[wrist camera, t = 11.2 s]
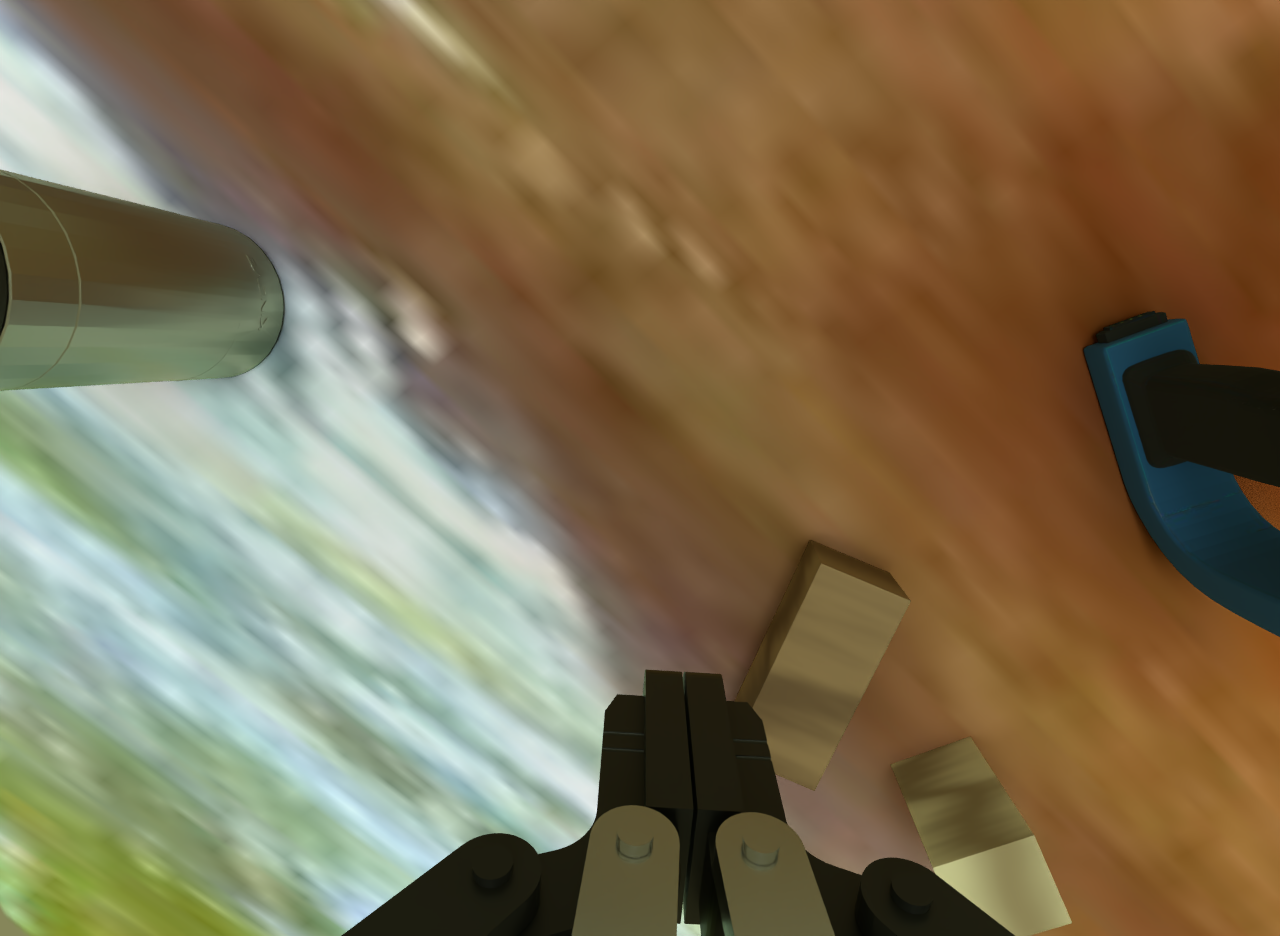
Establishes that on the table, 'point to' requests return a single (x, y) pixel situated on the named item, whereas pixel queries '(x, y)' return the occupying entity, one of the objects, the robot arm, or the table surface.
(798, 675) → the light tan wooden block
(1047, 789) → the table surface
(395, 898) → the robot arm
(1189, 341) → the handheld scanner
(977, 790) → the beech block
